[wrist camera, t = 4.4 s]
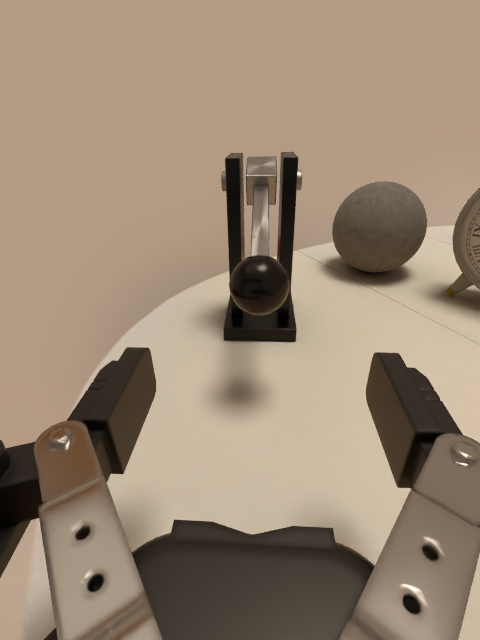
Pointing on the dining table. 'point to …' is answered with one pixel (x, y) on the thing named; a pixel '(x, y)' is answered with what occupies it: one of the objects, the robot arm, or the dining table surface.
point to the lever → (260, 246)
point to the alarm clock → (467, 245)
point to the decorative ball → (379, 226)
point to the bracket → (281, 320)
